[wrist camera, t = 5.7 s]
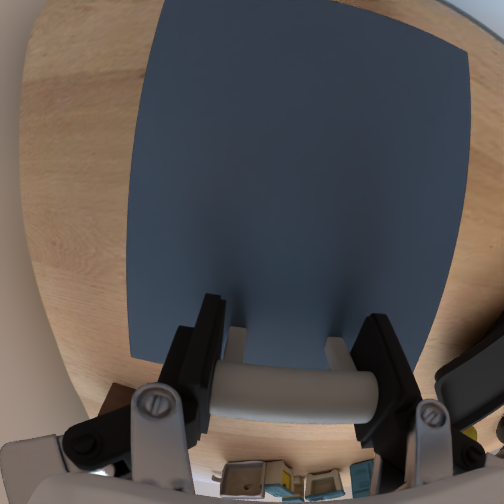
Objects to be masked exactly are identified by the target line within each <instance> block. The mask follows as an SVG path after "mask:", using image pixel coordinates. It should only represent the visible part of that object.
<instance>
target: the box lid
mask: <svg viewBox="0 0 504 504" xmlns="http://www.w3.org/2000/svg"><path fill="white" fill-rule="evenodd" d="M470 131H471V95H470V75H469V63H468V54H467V52H465V51H464V50H462V49H460V48H458V47H456V46H454V45H452V44H450V43H448V42H446V41H444V40H442V39H440V38H438V37H436V36H434V35H432V34H430V33H427V32H425V31H423V30H420V29H418V28H416V27H413V26H411V25H408V24H406V23H403V22H400V21H398V20H395V19H392V18H389V17H387V16H384V15H381V14H378V13H374V12H371V11H368V10H365V9H361V8H358V7H354V6H350V5H346V4H342V3H338V2H334V1H330V0H165V1H164V4H163V8H162V11H161V14H160V18H159V21H158V25H157V28H156V32H155V36H154V39H153V43H152V47H151V51H150V56H149V60H148V64H147V69H146V73H145V78H144V83H143V88H142V94H141V99H140V105H139V111H138V117H137V124H136V130H135V138H134V145H133V154H132V163H131V173H130V184H129V198H128V215H127V243H126V283H127V311H128V328H129V341H130V353H131V357H133V358H137V359H142V360H146V361H150V362H155V363H159V364H164V362H165V360H166V357H167V354H168V352H169V349H170V346H171V344H172V341H173V338H174V336H175V333H176V331H177V328H178V326H179V325H182V326H188V327H195V324H196V321H197V318H198V315H199V312H200V309H201V305H202V302H203V299H204V296H205V294H206V293H210V294H217V295H221V299H223V300H226V311H225V322H224V332H223V343H222V354H221V360H217V361H216V363H215V367H214V372H213V377H212V383H211V390H210V398H209V414H210V415H213V416H219V417H226V418H234V419H242V420H252V421H262V422H275V423H292V424H360V423H367V422H369V421H370V420H371V419H372V418H373V416H374V414H375V412H376V409H377V405H378V399H379V387H378V382H377V379H376V377H375V375H374V374H373V373H372V372H369V371H357V369H356V367H355V364H354V362H353V360H352V358H351V355H350V351H351V349H352V347H353V345H354V343H355V341H356V338H357V336H358V334H359V332H360V329H361V327H362V325H363V322H364V320H365V318H366V317H367V316H370V315H371V313H381V314H386V315H387V316H388V318H389V320H390V322H391V325H392V327H393V329H394V331H395V333H396V335H397V338H398V340H399V342H400V344H401V347H402V349H403V351H404V354H405V356H406V358H407V361H408V363H409V365H410V368H411V370H412V373H413V371H414V369H415V366H416V364H417V362H418V360H419V357H420V355H421V352H422V350H423V348H424V345H425V343H426V340H427V338H428V335H429V332H430V330H431V327H432V324H433V321H434V319H435V316H436V313H437V310H438V307H439V304H440V301H441V298H442V294H443V291H444V288H445V284H446V281H447V278H448V274H449V270H450V266H451V263H452V259H453V254H454V250H455V246H456V241H457V237H458V232H459V227H460V222H461V216H462V210H463V204H464V198H465V191H466V183H467V174H468V164H469V151H470Z"/></svg>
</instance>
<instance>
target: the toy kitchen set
mask: <svg viewBox="0 0 504 504" xmlns="http://www.w3.org/2000/svg"><path fill="white" fill-rule="evenodd" d="M266 464H267V466H266V476H265V485H264V488H265V491H266V492H267V493H269V494H271V495H273V496H275V497H282V502H304V480H303V479H302V478H301V477H300V476H295V477H293V469H292V468H288V467H286V466H285V465H284V462H283V460H280V461H273V462H266ZM373 466H374V461H373V460H369V461H365V462H362V463H358V464H354V465H351V466H350V475H351V484H352V495H353V498H361V497H368V495H369V490H370V484H371V479H372V472H373ZM263 474H264V465H263V468H262V475H261V482H260V489H262V484H263ZM344 495H345V492H344V490H343V486H342V482H341V478H340V474H339V472H338V471H337V469H333V470H332V472H330V473H325V474H320V475H314V476H313V475H312V474H308V475H307V481H306V491H305V499H306V500H308V501H310V502H312V501H319V500H324V499H332V498H337V497H341V496H344Z"/></svg>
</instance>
